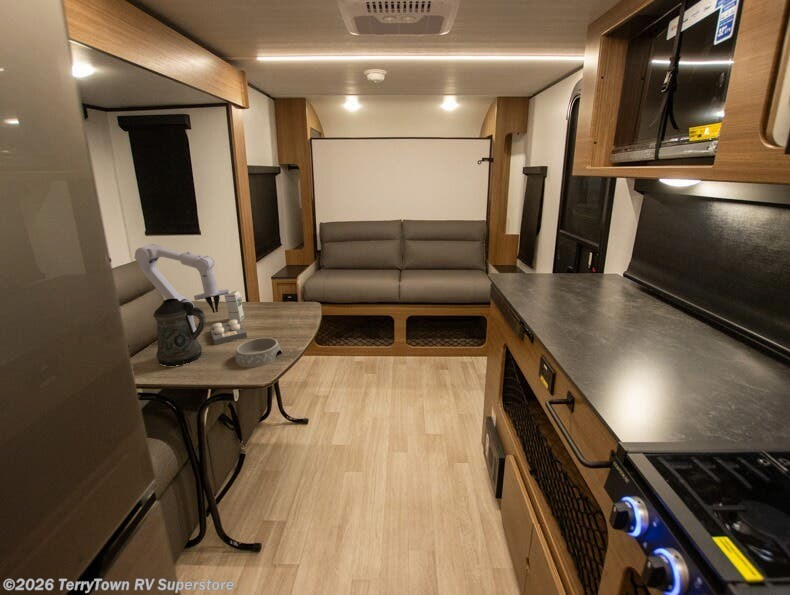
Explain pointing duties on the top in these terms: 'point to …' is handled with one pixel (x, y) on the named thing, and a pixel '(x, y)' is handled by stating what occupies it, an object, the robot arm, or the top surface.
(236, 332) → the button board
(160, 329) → the beer stein
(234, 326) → the button front right
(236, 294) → the syrup box
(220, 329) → the button front left
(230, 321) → the button back right
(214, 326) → the button back left
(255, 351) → the dog bowl
